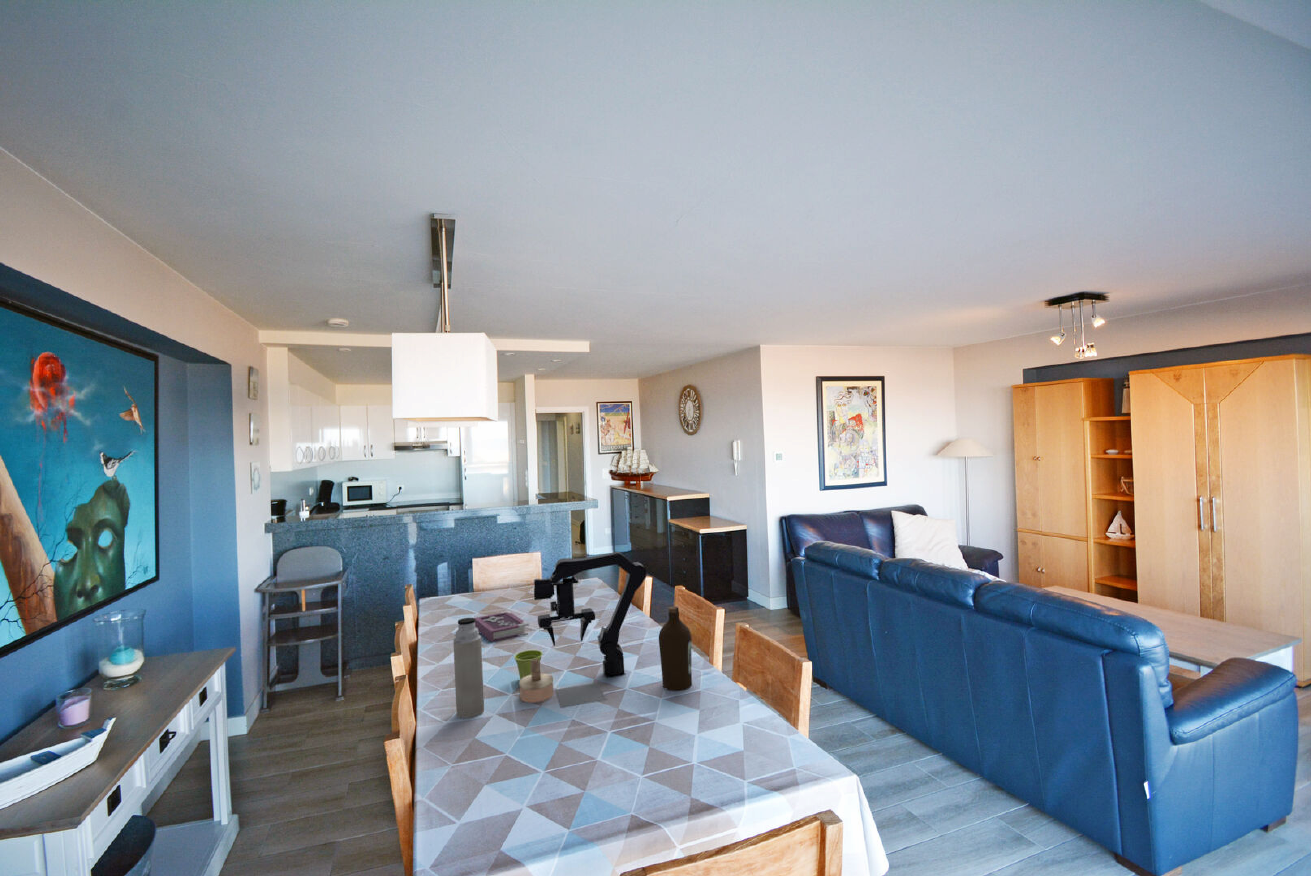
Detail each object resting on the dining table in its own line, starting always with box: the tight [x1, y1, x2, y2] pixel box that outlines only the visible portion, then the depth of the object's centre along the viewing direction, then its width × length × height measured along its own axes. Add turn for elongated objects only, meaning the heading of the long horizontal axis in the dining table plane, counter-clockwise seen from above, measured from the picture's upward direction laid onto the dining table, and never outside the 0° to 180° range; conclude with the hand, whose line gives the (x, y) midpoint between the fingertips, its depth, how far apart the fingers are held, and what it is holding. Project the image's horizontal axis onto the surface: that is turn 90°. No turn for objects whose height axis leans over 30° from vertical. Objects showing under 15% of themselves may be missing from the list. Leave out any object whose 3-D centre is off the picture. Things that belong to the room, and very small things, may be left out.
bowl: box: [519, 682, 554, 704], centre depth 186 cm, size 10×10×4 cm
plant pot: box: [513, 649, 544, 681], centre depth 200 cm, size 9×9×9 cm
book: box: [473, 610, 530, 643], centre depth 258 cm, size 25×16×5 cm, turn 33°
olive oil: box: [658, 605, 693, 692], centre depth 191 cm, size 11×11×25 cm
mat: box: [554, 682, 608, 709], centre depth 185 cm, size 14×14×1 cm
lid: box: [518, 659, 554, 690], centre depth 186 cm, size 10×10×7 cm
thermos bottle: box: [453, 617, 485, 719], centre depth 178 cm, size 8×8×28 cm
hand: (567, 643), depth 199 cm, fingers open, 9 cm apart
